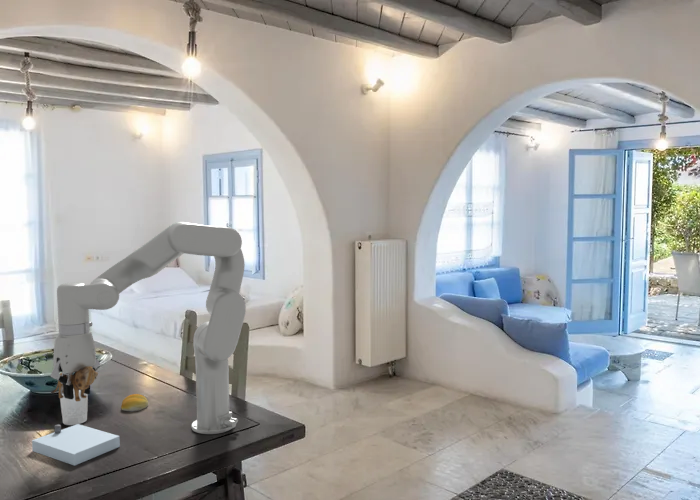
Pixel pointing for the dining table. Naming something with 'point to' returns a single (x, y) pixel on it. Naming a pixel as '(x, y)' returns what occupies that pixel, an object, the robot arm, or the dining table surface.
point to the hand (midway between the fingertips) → (77, 395)
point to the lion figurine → (79, 382)
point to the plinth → (75, 444)
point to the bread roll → (134, 403)
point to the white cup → (74, 410)
